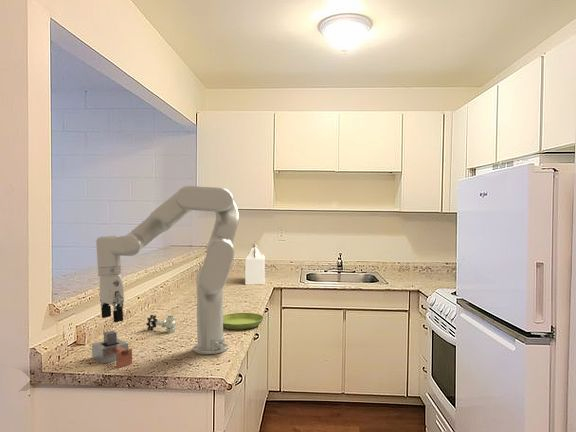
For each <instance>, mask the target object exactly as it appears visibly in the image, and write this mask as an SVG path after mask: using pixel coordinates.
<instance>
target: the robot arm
mask: <svg viewBox="0 0 576 432" xmlns="http://www.w3.org/2000/svg"><path fill="white" fill-rule="evenodd" d="M191 211H202V212H214V213H215V221H214V225H213V229H212V232H211V234H210V238H209V240H208V243H207V246H206V250H205V251H206V255H205V257H204V261H203V264H202V266H201V267H200V268H199V269H198V271H197V273H196V280H195V281H196V320H197V321H196V323H197V324H196V326H197V327H196V328H197V329H196V334H197V343H196V344H194V345H193V347H192V350H193V352H194V353H196V354H200V355H216V354H220V353H223V352H225V351H227V350H228V346H229V344H228V343H226V342H225V337H224V327H223V316H224V291H223V289H224V288H225V285H226V283H227V281H228V276H229V273H230V270H231V267H232V264H233V260H234V257H235V247H234V245H233V244H234V241H235V238H236V235H237V234H236V233H237V230H238V227H239V220H240V216H239V210H238V206H237V204H236V202H235V200H234V195H233V193H232V192H231V191H230V190H229V189H227V188H225V187H217V186H215V187H213V186H211V187H210V186H198V185H197V186H196V185H195V186H194V185H185V186H182V187H181V188H180V189H179V190H177V191H176V192H175V193H174V194H173V195H171V196H170V197H169V198H168V199H166V200H165V201H164V202H163V203H162V204H160V205H159V206H158V207H157V208H155V209H154V210H153V211H152V212H151V213H150V214H149V216H148V217H146V219H144V220H143V221H142V222H141V223H140V224H138V226H136V227H135V228H133V229H132V230H131V231H130V232H128V233H127V234H126V235H121V236H120V235H119V236H117V235H103V236H99V237H97V238H96V241H95V242H96V244H95V245H96V262H97V277H99V294H98V295H99V299H100V300H99V301H100V310H101V311H100V312H101V318H102V319H105V318H106V319H107V318H110V317H111V316H112V315H113V316H112V317H113V322H114V323H120V322H123V321H124V302H125V294H124V293H125V292H124V284H123V279H122V266H121V265H122V263H121V257H133V256H136V255H137V254H139V253H140V252H141V250H143V249H144V248H145V247H146V246H147V245H149V243H151V242H152V241H153V240H154V239H155V238H157V237H158V236H160V235H161V234H163V233H164V232H167V231H168V230H170V229H171V228H172V227H173V226H174V225H176V224H177V223H178V222H179V221H181V220H182V219H183V218H185V216H186V215H188V214H189V213H190V212H191ZM112 308H113V310H112ZM112 313H113V314H112Z"/></svg>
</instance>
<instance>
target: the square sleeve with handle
mask: <svg viewBox="0 0 576 432" xmlns="http://www.w3.org/2000/svg"><path fill="white" fill-rule="evenodd" d="M92 357H93V358H94V359H93V358H92ZM91 358H92V359H93V360H95V359H96V360H95V361H97V360H98V361H97V362H98V363H100V362H101V363H100V364H102V363H105V364H109V363H112V361H113V362H116V368H122V367H125V366H129V365H133V349H132V348H129V343H128V342H126V341H124V340H122V339H119V338H117V344H116V345H112V346H107V347H106V346H104V340H103V341H99V342H93V343H91ZM108 362H109V363H108Z"/></svg>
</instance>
